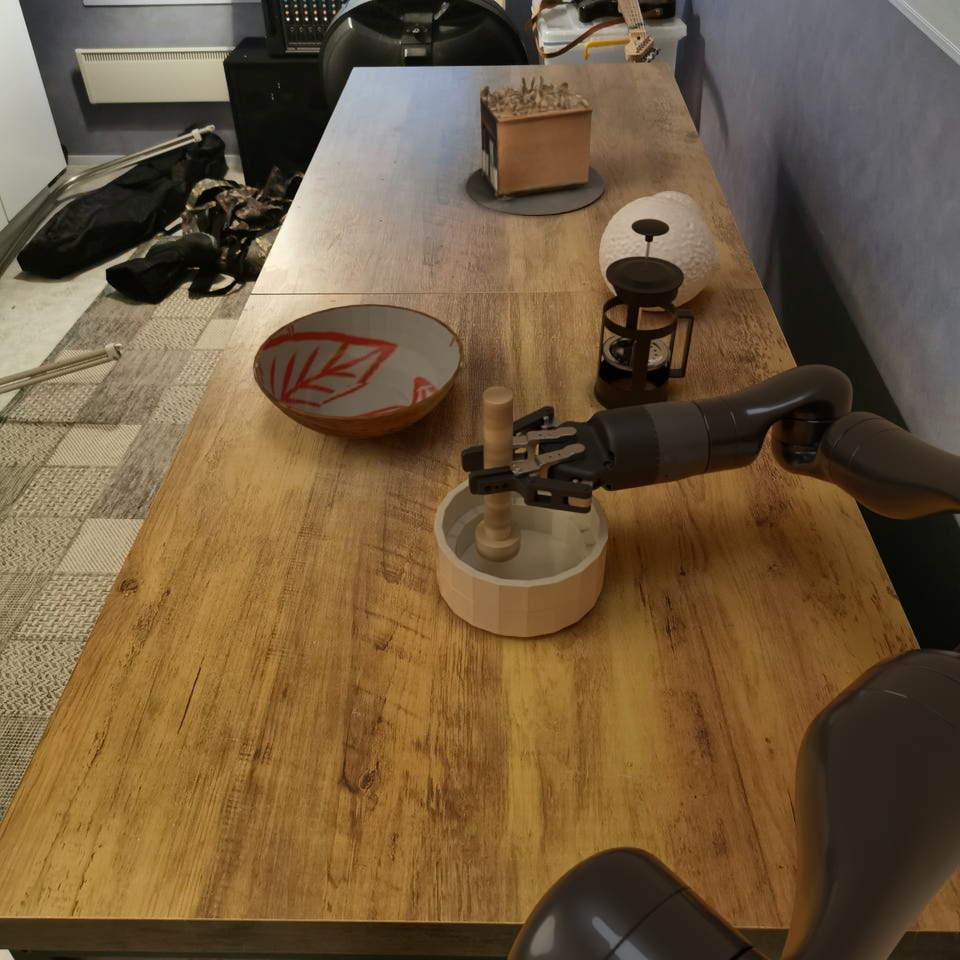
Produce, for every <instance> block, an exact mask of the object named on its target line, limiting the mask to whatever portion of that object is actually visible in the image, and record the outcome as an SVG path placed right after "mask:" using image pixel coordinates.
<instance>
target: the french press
mask: <svg viewBox="0 0 960 960" xmlns="http://www.w3.org/2000/svg"><path fill="white" fill-rule="evenodd" d="M631 228H632V230H633V231H634V232H636V233H638V234H641V235H644V236H645V241H646V242H647V247H646V255H645V256H635V257H627V258H623V259H619V260H617V261H615V262H613V263H612V264H610V265H609V266H608V268H607V270H606V278H607V280H608V281H609V283H610V284H611V285H613V288H614V290H615V292H616V294H617V296H615V295H614V296H612V297H610V298H609V299H607V300H606V302H604V304H603V306H602V311H601V323H600V324H601V325H600V337H599V345H598V346H599V347H598V358H597V359H598V361H597V369H596V370H597V371H596V379H595V381H596V382H595V384H594V386H593V395H594V397H595V399H596V401H597V402H598V404H600V405H601V406H602V407H604V408H605V409H606V410H609V409H616V408H623V407H630V406H637V405H644V404H651V403H658V402H668V399H669V390H668V388H669V381H670V379H684V378H685V377H686V374H687V373H686V372H687V368H688V360H689V356H690V355H689V354H690V348H691V343H692V337H693V330H694V324H695V315H694V312H693V309H688V308H678V307H676V306H675V305H674V304H673V303H671V302H672V301H674V300H675V299H676V297H677V294H678V288H679V287H680V286H681V285H682V284H683V281H684V274H683V272H682V270H681V269H680V268H679V267H678V266H676V265H675V264H673V263H671V262H669V261H666V260H663V259H659V258H655V257H649V249H650V242H652V241H653V237H654V236H660V235H664V234H666V233H667V232H668V231H669V226H668V225H667V224H666V223H665V222H663V221H660V220H656V219H641V220H638V221H635V222H634V223H633V224H632V226H631ZM619 305H627V309H626V318H625V326H624V325H620V324H618V323H616V322H615V321H613V320H612V319H610V318H609V317H608V316H607V314H606V313H607V312H608V311H609V310H611V309H613V308H615V307H617V306H619ZM654 307H661V308H663V309H665V311H666V312H667V313H669V314H670V315H671V316H672V317H673V319H672V322H670V323H669V324H667V325H665V326H662V327H659V328H654V329H641V322H642V314H643V310H642V308H654ZM680 319H682V320H686V319H687V320H688V321H687V327H686V333H685V339H684V346H683V353H682V358H681V364H680V367H679V368H672V361H673V355H674V349H675V348H674V346H675V343H676V342H675V341H676V335H677V328H678V322H679V320H680ZM605 329H607V330H608V331H609V332H610V333H612V334H614V335H613V336H611V337H608V338H607V339H606V340H605V341H604V337H605ZM668 336H670V338H669V345H667V344H666V343H665V342H664V341H663V340H661V339H662V338H663V339H664V338H665V337H668ZM626 377H630V378H631V382H630V389H629V390H625V389H621V388H617V387H615V386H613V385H611V384H609V383H610V382H611V381H613V380H615V379H620V378H626ZM647 382H649V383H651V384H652V385H653V386H654V387H655V388H653V389H649V390H646V383H647Z"/></svg>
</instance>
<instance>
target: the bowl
mask: <svg viewBox="0 0 960 960" xmlns="http://www.w3.org/2000/svg"><path fill="white" fill-rule="evenodd" d="M464 360H465V351H464V345H463V343H462V341H461V339H460V337H459V335H458V334H457V333H456V332H455V331H454V330H453V329H452V328H451V326H449V325H448V324H446V323H445V322H443V321H442V320H440V319H439V318H437V317H434V316H432V315H430V314H428V313H425V312H423V311H420V310H417V309H414V308H413V309H412V308H409V307H405V306H398V305H390V304H380V303H379V304H377V303H363V304H347V305H342V306H336V307H330V308H326V309H322V310H318V311H314V312H311V313H309V314H306V315H303V316H301V317H298V318H296V319H294V320H292V321H290V322H288V323H286V324H285V325H283V326H281V327H280V328H278V329H277V330H276V331H274V332H273V333H272V334H270V335H269V336H268V337H267V338H266V339H265V340H264V341H263V343H261V344H260V345H259V348H258V349H257V352H256V353H255V356H254V358H253V364H252V373H253V377H254V381H255V383H256V384H257V386H258V388H259V389H260V391H261V392H262V393H263V394H264V396H265V397H266V398H267V399H268V400H269V401H270V402H271V403H272V404H273V405H274V406H275V407H276V408H277V409H278V410H280V411H281V412H282V413H283V414H284V415H285V416H286V417H288V418H289V419H291V420H292V421H294V422H295V423H298V424H299V425H301V426H303V427H305V428H307V429H309V430H311V431H314V432H316V433H319V434H322V435H325V436H328V437H332V438H333V437H334V438H338V439H349V440H351V439H353V440H359V439H372V438H373V439H374V438H379V437H383V436H388V435H391V434H393V433H397V432H400V431H402V430H404V429H407V428H408V427H410V426H412V425H414V424H415V423H417V422H418V421H419V420H421V419H423V418H424V417H425V416H427V415H428V414H430V413H431V412H432V410H434V409H435V408H436V407H437V406H438V405H439V403H440V402H442V400H444V398H445V397H446V396H447V394H448V393H449V391H450V390H451V388H452V387H453V385H454V383H455V382H456V380H457V379H458V377H459V374H460V373H461V371H462V369H463V364H464V362H465V361H464Z"/></svg>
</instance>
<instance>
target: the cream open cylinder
mask: <svg viewBox="0 0 960 960" xmlns="http://www.w3.org/2000/svg"><path fill="white" fill-rule="evenodd" d="M534 475H535V474H531V475H529V476H534ZM538 494H541V495H548V496H551V493H550V492H547V491H545V492H540V491H539V490H538ZM607 516H608V515H607V514H606V512H605V510H604V508H603V506H602V504H601V501H600V500H599V499H598V498H596V496H595V495H593V494H592V502H591V511H590V512H589V513H587V514H582V513H575V512H568V511H562V510H555V509H548V508H541V507H534V506H528V505H526V504H525V503H524V498H523V497H522V496H521V495H520V494H516V493H514V492H513V491H512V520H513V521H515V522H516V523H517V524H518V525H519V527H520V529H521V548H520V551H519V553H518V554H517V556H516V557H514V558H513V559H511V560H509V561H506V562H491V561H487V560H485V559H483V558H482V557H481V556H480V555H479V554H478V553H477V551H476V546H475V530H476V527H477V525H478V524H479V523H480V522H481V521H483V520H484V495H478V494H476V495H473V494H471V492H470V489H469V479H468V478H467V479H466V480H464V481H463V482H461V483H460V484H458V485H457V486H456V487H454V488H453V489H452V490H450V491H449V492H448V493H447V494H446V496H445V497H444V499H443V500H442V502H440V504H439V506H438V507H437V509H436V514H435V517H434V523H433V539H434V540H433V541H434V559H435V575H436V581H437V584H438V589H439V593H440V596H441V597H442V599H443V600H444V601H445V603H446V604H447V605H448V606H449V608H450V610H451V611H452V612H453V613H454V614H455V615H457V616H458V617H459V618H461V619H463V620H464V621H465V622H467V623H468V624H470V625H471V626H473V627H475V628H478V629H481V630H484V631H487V632H488V633H489V632H490V633H493V634H496V635H499V636H507V637H518V638H519V637H520V638H529V637H536V636H542V635H543V636H544V635H548V634H554V633H556V632H558V631H560V630H563V629H564V628H567V627H569V626H572V625H573V624H576V623H577V622H579V621H580V620H581V619H582V618H583V617H584V616H586V614H588V612H589V611H591V610H592V609H593V608H594V607H595V605H596V603H597V600H598V598H599V597H600V594H601V592H602V590H603V586H604V579H605V577H604V576H605V569H606V568H605V567H606V559H607V550H608V543H609V519H608V517H607Z"/></svg>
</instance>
